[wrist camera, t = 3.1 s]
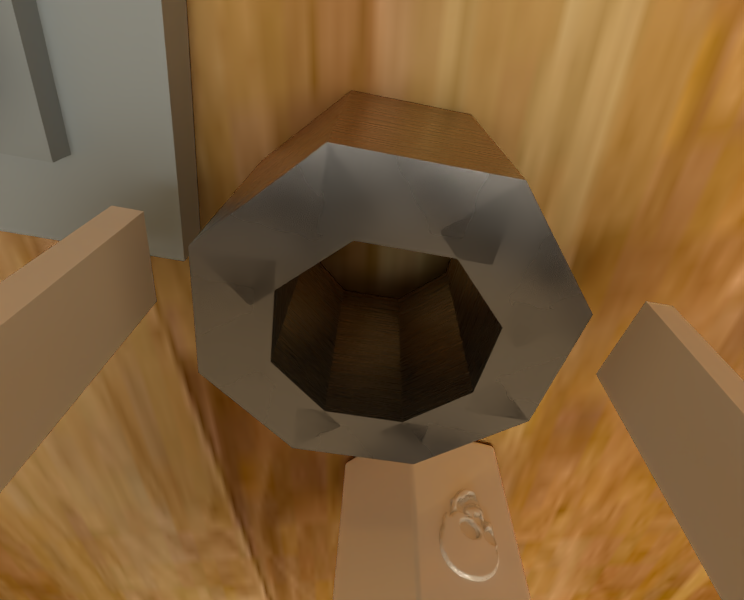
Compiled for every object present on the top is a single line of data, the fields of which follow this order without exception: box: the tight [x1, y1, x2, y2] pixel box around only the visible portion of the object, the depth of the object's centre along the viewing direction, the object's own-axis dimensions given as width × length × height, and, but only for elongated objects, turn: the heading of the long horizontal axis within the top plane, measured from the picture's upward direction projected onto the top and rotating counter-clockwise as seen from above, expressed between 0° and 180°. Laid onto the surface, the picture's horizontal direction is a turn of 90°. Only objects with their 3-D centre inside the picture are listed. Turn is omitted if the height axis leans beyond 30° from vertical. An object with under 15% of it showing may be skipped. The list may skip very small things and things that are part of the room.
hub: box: [188, 90, 593, 464], centre depth 12 cm, size 9×9×6 cm
